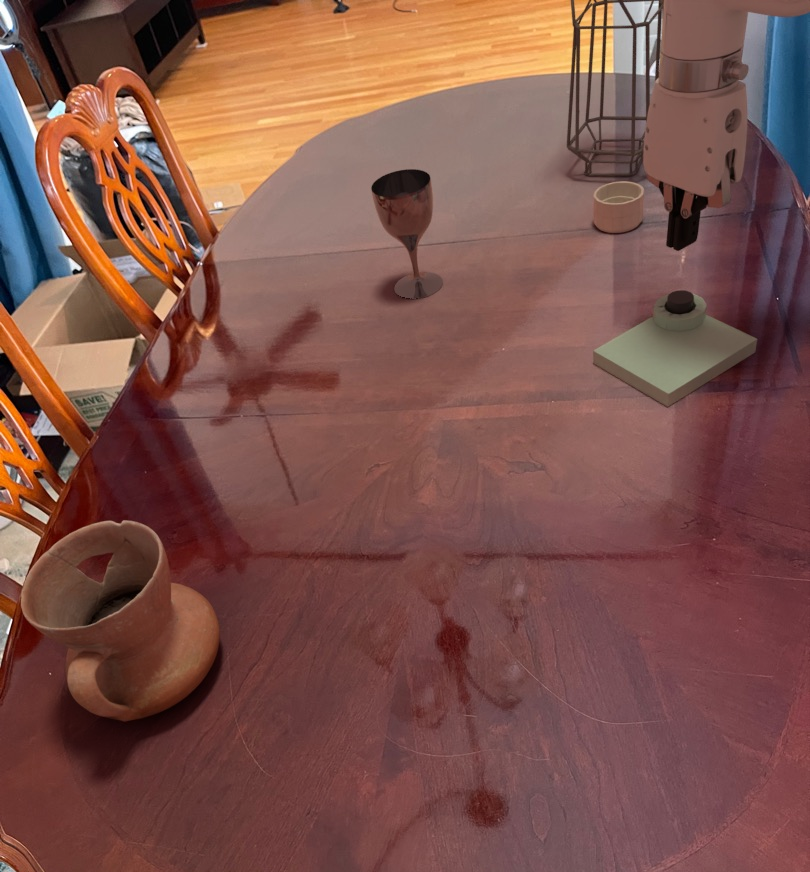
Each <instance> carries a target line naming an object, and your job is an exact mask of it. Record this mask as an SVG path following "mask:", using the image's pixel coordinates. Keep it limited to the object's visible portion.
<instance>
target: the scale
mask: <svg viewBox="0 0 810 872" xmlns="http://www.w3.org/2000/svg"><path fill="white" fill-rule="evenodd" d="M691 293H692V292H691ZM669 294H670V293H666V294H665V295H663V296H661V297H660V298H658V299H656V301H655V302H654V305H653V309H652V316H651V317H648V318H647V319H646V320H643V321H642V322H640V323H638V324H637V325H635V326H633V327H632V328H630V329H628V330H626V331H624V332H623V333H621V334H620V335H619V334H618V336H616V337H614V338H612V339H611V340H609V341H607V342H605V343H604V344H602V345H600V346H598V347H597V348H595V349H593V351H592V364H594V365H595V366H597V367H598V368H600V369H602V370H603V371H605V372H607V373H609V374H611V375H612V376H614V377H616V378H617V379H619V380H621V381H623V382H624V383H626V384H628V385H629V386H631V387H632V388H635V389H636V390H638V391H639V392H641V393H643V394H645V395H647V396H648V397H650V398H652V399H653V400H655V401H657V402H658V403H660V404H661V405H663V406H665V407H666V408H669V407H670V406H671V405H673V404H675V403H677V402H678V401H679V400H681V399H683V398H684V397H686V396H688V395H689V394H691V393H692V392H694V391H696V390H697V389H698V388H701V387H702V386H703V385H705V384H707V383H709V382H710V381H712V380H713V379H715V378H716V377H718V376H719V375H721V374H723V373H724V372H726V371H727V370H729V369H731V368H732V367H733V366H735V365H737V364H739V363H741V362H742V361H744V360H745V359H747V358H749V357H750V356H752V355H753V354H755V353H756V350H757V344H758V338H757V337H755V336H752V335H750V334H748V333H746V332H744V331H742V330H740V329H737V328H736V327H733V326H731V325H729V324H727V323H725V322H723V321H720V320H718V319H716V318H714V317H713V316H710V315H708V314H707V306H708V304H707V303H706V301H705V300H704V298H703V297H702V296H700V295H697V294H695V293H692V294H693V295H694V302H693V309H692V311H691V312H689V313H686V314H672V313H670V312H668V311H667V298H668V295H669Z"/></svg>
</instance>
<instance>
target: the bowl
mask: <svg viewBox="0 0 810 872" xmlns="http://www.w3.org/2000/svg"><path fill="white" fill-rule="evenodd" d="M644 202H645V188H644V187H643V186H642V184H639V183H637V182H633V181H626V180H625V181H623V180H622V181H613V182H609V183H605V184H603V185H601V186H599V187H597V188H596V190H594V192H593V224H594V225H595V227H596V228H597V229H598V230H600V231H602V232H604V233H607V234H608V233H609V234H622V233H626V232H630V231H632V230H634V229H636V228H638V226H639V225H640V224H641V223H642V222H643V219H644V204H645V203H644Z"/></svg>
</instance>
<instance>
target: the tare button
mask: <svg viewBox="0 0 810 872" xmlns="http://www.w3.org/2000/svg"><path fill="white" fill-rule="evenodd" d="M668 294H669V295H668V298H667V311H668V312H670V313H672V314H686V313H689V312H691V311H692V309H693V302H694V295H693V294H694V293H693V294H692V292H691V291H689V290H683V289H681V290H674V291H672V292H670V293H668Z"/></svg>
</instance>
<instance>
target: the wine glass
mask: <svg viewBox="0 0 810 872" xmlns="http://www.w3.org/2000/svg"><path fill="white" fill-rule="evenodd" d="M370 189H371V196H372V201H373V205H374V209H375V211H376V214H377V217H378V219H379V221H380V224H381V226H382V228H384V231H385V232H386V233H387V234H388V235H390V236H391V237H392V238H394V239H395V240H396V241H398V242H399V243H400V244H401V245H403V246H404V247H405V249H406V251H407V253H408V256H409V259H410V262H411V266H412V273H409V274H408V275H406V276H403V277H402V278H400V279H399V280H398V281H397V282H396V283H395V285H394V290H393V291H394V293H395V295H396V296H398V295H399V296H398V297H400V296H401V297H400V298H402V297H405V298H404V299H406V298H410V299H409V300H417V299H416V298H418V299H423V298H426V297H430V296H432V295H433V294H436V293H437V292H439V290H440V289H442V286H443V285H444V280H443V278H442V276H441V275H440V274H438V273H435V272H431V271H419V263H418V247H419V243H420V241H421V239H422V237H424V235H425V233H426V231H427V230H428V228H429V227H430V224H431V223H432V219H433V213H434V193H433V184H432V178H431V175H430V174H429V173H428V172H427V171H425V170H421V169H416V168H415V169H413V168H408V169H407V168H406V169H400V170H396V171H392V172H390V173H386V174H383V175H382V176H380V177H378V178H377V179H376V180H375V181H374V182H373V183H372V185H371V188H370ZM411 298H412V299H411Z"/></svg>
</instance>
